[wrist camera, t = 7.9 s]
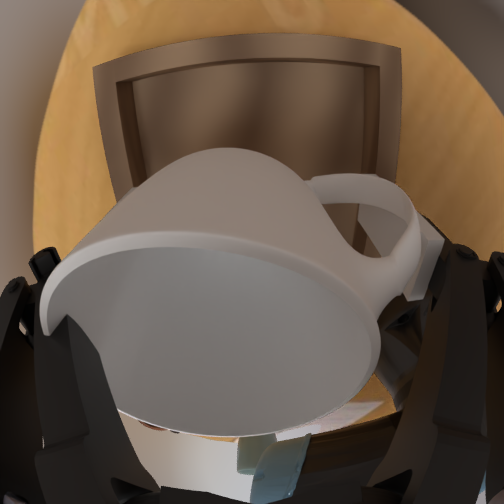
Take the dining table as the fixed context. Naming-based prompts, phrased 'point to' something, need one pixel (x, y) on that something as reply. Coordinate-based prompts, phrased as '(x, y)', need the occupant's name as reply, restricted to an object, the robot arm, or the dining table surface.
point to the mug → (233, 294)
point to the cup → (252, 451)
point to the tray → (256, 109)
